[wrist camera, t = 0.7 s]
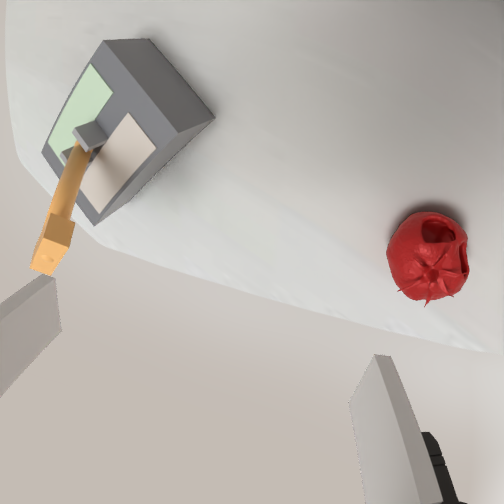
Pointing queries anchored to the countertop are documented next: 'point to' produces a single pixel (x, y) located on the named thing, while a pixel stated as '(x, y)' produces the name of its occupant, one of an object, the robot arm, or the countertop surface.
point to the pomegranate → (428, 256)
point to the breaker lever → (60, 214)
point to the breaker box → (124, 123)
